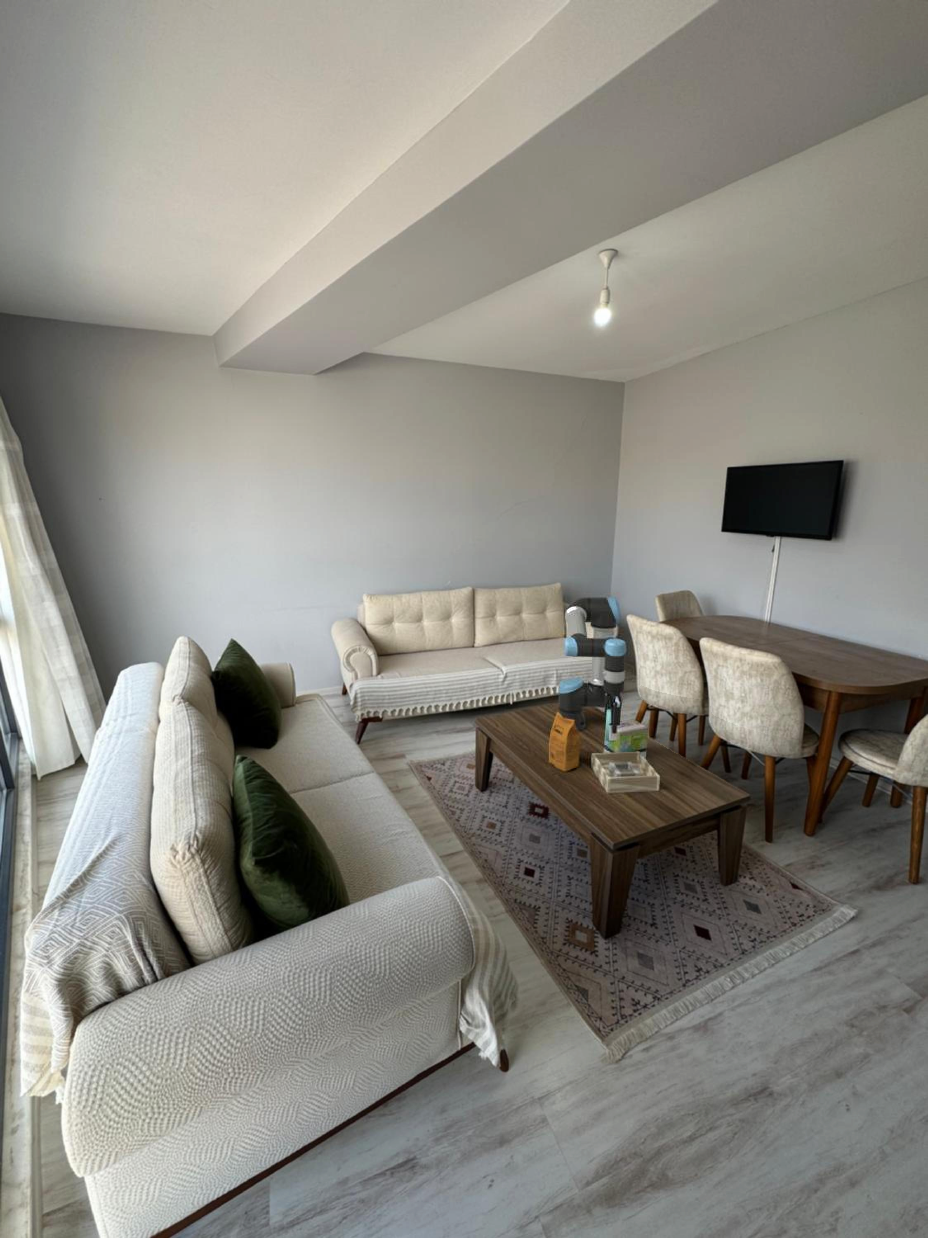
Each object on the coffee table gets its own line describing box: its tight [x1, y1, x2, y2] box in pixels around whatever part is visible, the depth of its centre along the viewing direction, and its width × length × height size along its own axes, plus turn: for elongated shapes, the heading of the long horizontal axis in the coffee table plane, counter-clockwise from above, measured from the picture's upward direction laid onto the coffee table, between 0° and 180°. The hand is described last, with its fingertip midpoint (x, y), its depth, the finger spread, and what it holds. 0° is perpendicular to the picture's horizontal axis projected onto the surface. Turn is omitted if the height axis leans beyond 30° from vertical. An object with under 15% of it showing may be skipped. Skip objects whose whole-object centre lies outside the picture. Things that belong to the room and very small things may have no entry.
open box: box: [590, 751, 661, 794], centre depth 200 cm, size 20×20×6 cm
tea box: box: [603, 718, 649, 759], centre depth 216 cm, size 15×10×15 cm, turn 112°
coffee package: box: [548, 711, 581, 772], centre depth 210 cm, size 10×12×22 cm
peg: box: [604, 709, 616, 742], centre depth 195 cm, size 4×4×12 cm
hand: (611, 737), depth 196 cm, fingers closed on peg, 4 cm apart
